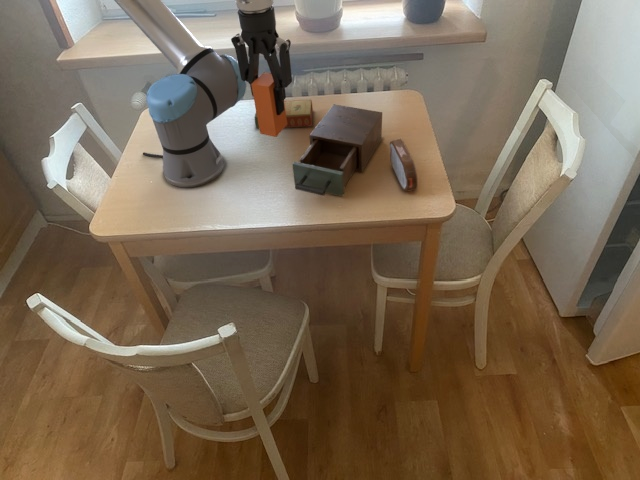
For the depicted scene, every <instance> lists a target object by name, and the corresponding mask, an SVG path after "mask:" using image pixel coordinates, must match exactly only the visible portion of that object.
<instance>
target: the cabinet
mask: <svg viewBox="0 0 640 480" xmlns="http://www.w3.org/2000/svg"><path fill="white" fill-rule="evenodd" d="M382 133H383V112H382V111H378V110H377V111H376V110H371V109H365V108H360V107H354V106H347V105H340V104H332V105H331V107H330V109H329V110H328V111H327V112H326V114H324V116H323V117H322V119H321V120H320V121H319V122H318V124H317V125H316V126H315V128H313V130H312V131H311V133H310V134H309V143H310V144H309V146H310V145H311V144H312V143H313V141H314V140H315V139H319V140H324V141H329V142H335V143H340V144H345V145H350V146H355V147H359V164H358V166H357V167H356V169H355V171H354V172H359V173H362V172H363V171H364V169H365V168H366V166H367V164H368V162H369V161H370V159H371V157H372V155H373V153H374V152H375V151H376V149H377V147H378V146H379V144H380V142H381V141H382V135H383V134H382Z"/></svg>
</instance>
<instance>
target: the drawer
mask: <svg viewBox="0 0 640 480" xmlns="http://www.w3.org/2000/svg"><path fill="white" fill-rule="evenodd" d="M306 149H307V150H305V151H304V153H303V155H302V156H301V157H300V159H299V161H293V163H292V175H293V182H294V189H295V190H298V191H301V192H305V193H310V194H314V195H320V196H324V197H325V195H326V194H330V195H333V196H339V197H344V195H345V187H346V186H347V184H348V182H349V180H350V179H351V178H352V176H353V174H354V173H355V172H356V171H355V169H356V167H357V166H358V164H359V147H355V146H350V145H345V144H340V143H335V142H329V141H324V140H319V139H315V140H314V141H313V143H312V144H311V145H310V144H309V146H308V148H306Z"/></svg>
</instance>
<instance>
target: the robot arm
mask: <svg viewBox="0 0 640 480" xmlns="http://www.w3.org/2000/svg"><path fill="white" fill-rule="evenodd" d="M113 1H114V2H115V4H117V5H118V7H120V8H121V10H122V11H123V12H124V13H125V14H126V15H127V16H128V17H129V18H130V20H131V21H132V22H133V23H134V24H135V25H136V26H137V28H138V29H139V30H140V31H141V32H142V33H143V34H144V35H145V36H146V37H147V38H148V40H149V41H150V42H151V43H152V44H153V45H154V46H155V47H156V48H157V49H158V51H160V53H161V54H162V55H163V56H164V58H166V59H167V60H168V62H169V63H170V64H171V65H172V66H173V67H174V68H175V69H176V73H173V74H171V75H170V76H167V75H166V76H164V77H162V78H159V79H158V80H157V81H155V82H154V83H152V84H151V86H149V89H148V90H147V92H146V97H145V98H146V104H147V108H148V114H149V117H150V118H151V120H152V122H153V126H154V128H155V131H156V134H157V136H158V139H159V142H160V145H161V147H162V154H154V153H148V152H145V151H143V152H142V155H143V156H145V157H148V158H158V159H162V173H163V176H164V178H165V180H166V182H168V184H170V185H172V186H174V187H179V188H194V187H195V188H196V187H200V186H203V185H206V184H208V183H211V182H212V181H214V180H215V179H217V178H218V177H219V175H221V173H222V171H223V170H224V159H223V156H222V155H221V152H220V151H219V149H218V148H217V146H216V145H215V143H214V142H212V139H211V138H210V135H209V131H208V127H207V125H208V124H209V123H210V122H212V121H213V120H215V119H217V118H218V117H220V115H222V114H223V113H225V112H226V111H228V110H229V109H230V108H233V107H235V106H236V104H237V103H239V102H240V101H241V100H242V99H243V98H244V96H245V95H246V91H247V82H248V84H249V86H250V92H251V96H252V97H253V98H254V96H253V91H252V85H251V84H252V83H253V82H254V81H255V80H256V79H257V78H258V77H259V69H260V54H261V55H262V56H263V58H264V60H265V61H266V62H267V66H268V68H269V71H270V72H269V73H271V74H272V77H273V80H274V83H275V86H276V87H275V88H274V89H273V92H274V99H275V106H276V113H277V115H280V114H281V113H282V112H283V111H284V110H285V108H284V101H285V100H286V98H287V93H286V88H288V87H289V86H290V84H291V83H292V82H293V77H292V65H291V56H290V48H291V44H292V42H291V40H290V39H289V38H287V39H283V38H281V37H279V33H278V31H277V21H276V20H277V19H276V13H275V7H274V6H273V5H274V0H235V5H236V8H237V9H238V10H237V18H238V23H239V24H238V25H239V28H240V29H241V33H237V34H235V35H234V36H233V37H232V38H230V40H231V43H232V45H233V48H234V50H235V54H236V59H235V58H234V57H233V56H231V55H228V54H220V55H219V54H218V53H217V51H215V50H214V48H212V46H203V45H202V44H201V43H200V42H199V41H198V40H197V39H196V37H195V36H194V35H193V34H192V33H191V32H190V30H189V29H187V27H186V26H185V25H184V24H183V22H182V21H180V19H179V18H178V17H177V16H176V14H174V12H173V11H172V10H171V9H170V8H169V7H168V6H167V5H166V4H165V2H164V1H163V0H113ZM276 45H277V48H276ZM247 48H248V49H247ZM247 50H248V51H247ZM277 50H278V55H277Z"/></svg>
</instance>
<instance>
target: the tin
mask: <svg viewBox="0 0 640 480" xmlns="http://www.w3.org/2000/svg"><path fill="white" fill-rule="evenodd" d="M389 160H390V163H391V167H392V170H393V172H394V174H395V177H396V179H397V181H398V183H399V185H400V187H401V189H402V191H404V192H411V191H416V190H417V188H418V173H417V169H416V165H415V162H414V159H413V157H412V155H411V153H410V151H409V149H408V147H407V145H406V144H405V141H404V140H403V138H398V139H392V140H391V141H390V142H389Z"/></svg>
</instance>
